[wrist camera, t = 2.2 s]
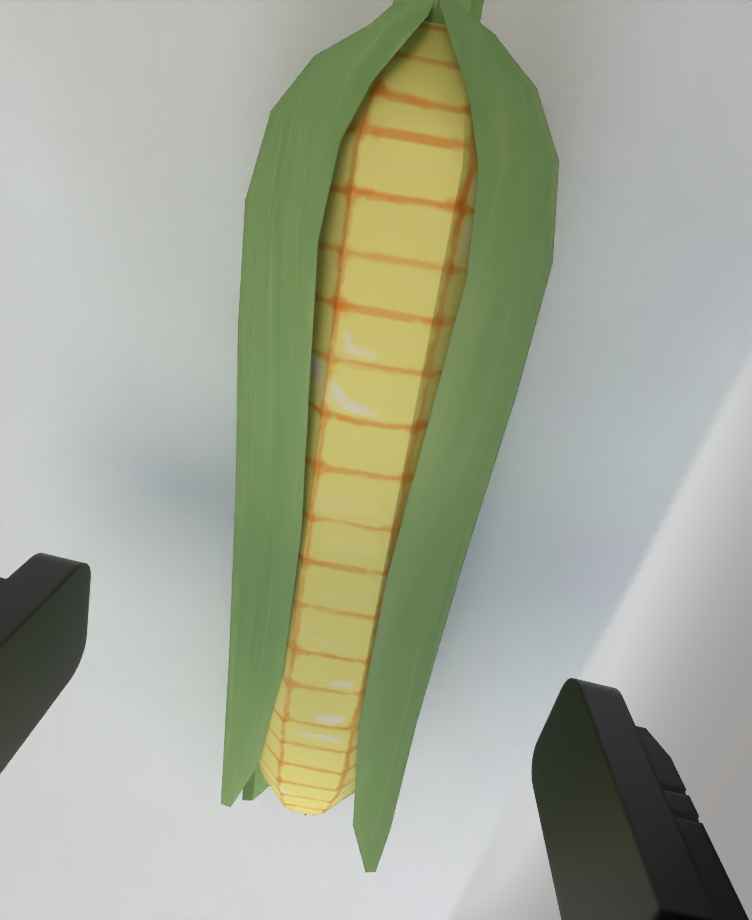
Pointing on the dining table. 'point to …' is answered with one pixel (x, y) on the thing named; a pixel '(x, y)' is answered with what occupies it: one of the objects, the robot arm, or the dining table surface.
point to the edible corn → (374, 390)
